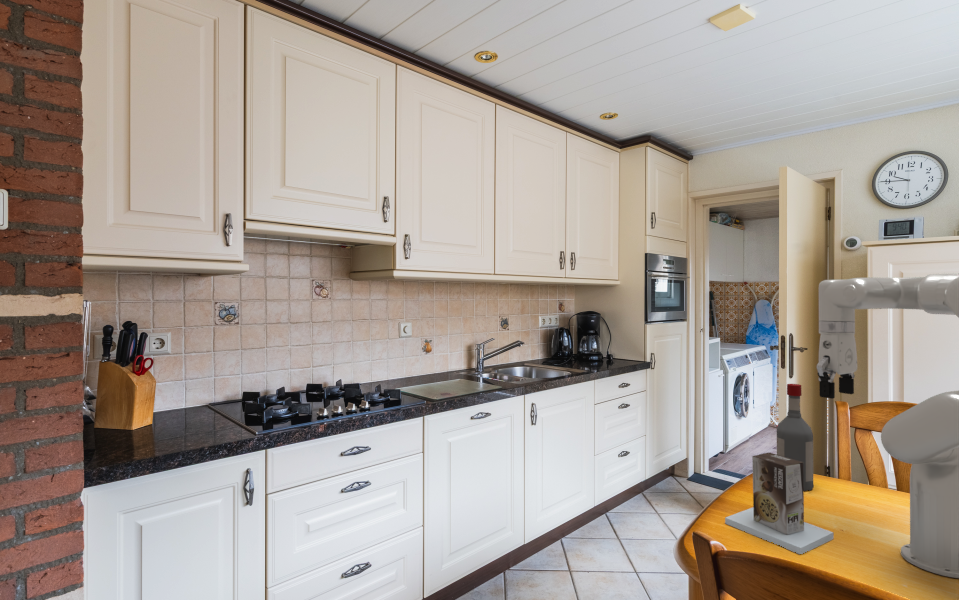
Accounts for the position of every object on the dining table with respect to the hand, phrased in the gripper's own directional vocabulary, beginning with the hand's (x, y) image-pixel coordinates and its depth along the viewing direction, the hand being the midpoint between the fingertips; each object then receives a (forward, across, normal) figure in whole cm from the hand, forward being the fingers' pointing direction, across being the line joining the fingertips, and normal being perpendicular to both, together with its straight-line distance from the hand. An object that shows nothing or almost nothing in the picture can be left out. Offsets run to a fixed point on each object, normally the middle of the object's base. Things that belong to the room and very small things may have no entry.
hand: (836, 395), depth 129 cm
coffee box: (+30, -20, +4) cm, 36 cm away
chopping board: (+31, -20, +4) cm, 37 cm away
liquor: (+32, +14, +18) cm, 39 cm away
